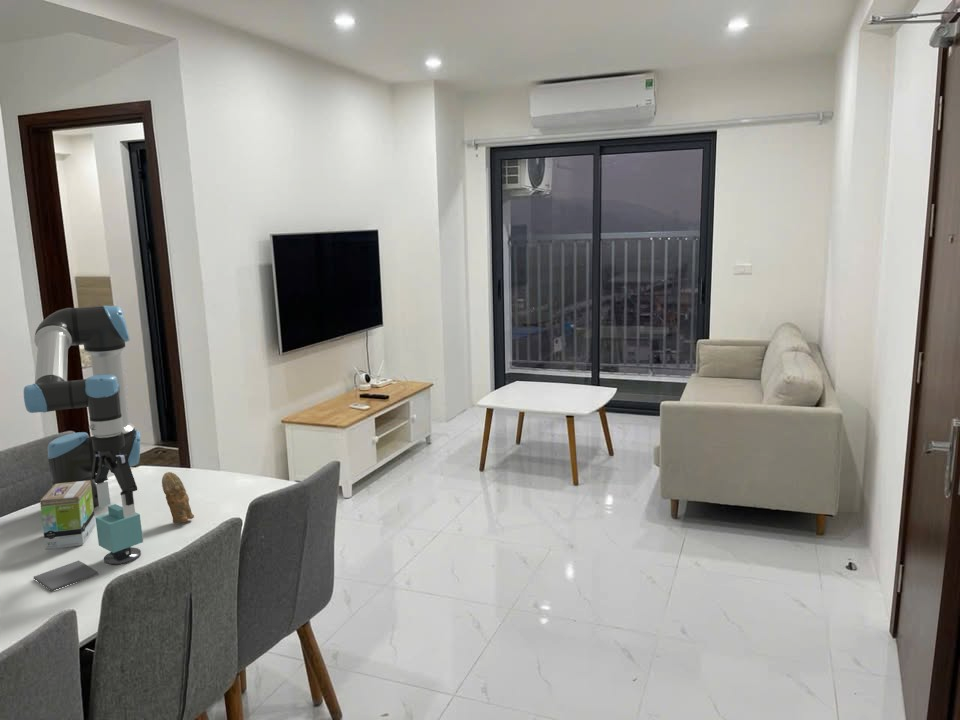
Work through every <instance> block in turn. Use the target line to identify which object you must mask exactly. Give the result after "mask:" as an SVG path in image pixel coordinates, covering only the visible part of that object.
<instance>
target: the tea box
mask: <svg viewBox="0 0 960 720" xmlns="http://www.w3.org/2000/svg"><path fill="white" fill-rule="evenodd" d="M39 501H40V502H39V503H40V511H41V512H40V513H41V521H42V522H41V523H42V531H43V532H42V533H43V538H44V540H43V541H44V548H45V550H53V549H63V548H70V547H71V548H72V547H77V546H83V545H84V543H85V542H86V540H87V538H88V537H89V536H90V534H91V533H92V532H93V531H92V530H93V529H94V528H95V526H96V519H95V517H96V516H95V509H94V508H95V507H94V506H93V497H92V488H91V481H90V480H89V481H78V482H68V483H58V484H54V486H53V487H51V488H50V489H49V490H48V491H47V493H45V494H44V496H43V497H41V499H40V500H39Z"/></svg>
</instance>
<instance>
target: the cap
mask: <svg viewBox="0 0 960 720" xmlns="http://www.w3.org/2000/svg"><path fill="white" fill-rule="evenodd" d="M107 510H108V513H105V514H102V515H99V516H95V526H96V527H95V528H96V533H97V541H98V546H99V547H101V548H103V549H105V550H107V551H108V552H109V553H110V552H112V553H115V552H117V551H120V550H123V549H126V548H128V547H131V548H132V547H134V546H136V545H139V544H141V543H144V538H143V532H142V531H143V529H142V522H141V515H140V513H137V512H136V511H135V515H133V516H130V517H127V518H124V515H123V507H122V505H119V504H116V503H114V504H110V505H107Z"/></svg>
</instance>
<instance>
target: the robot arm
mask: <svg viewBox="0 0 960 720" xmlns="http://www.w3.org/2000/svg"><path fill="white" fill-rule="evenodd" d="M126 323H127V322H126V319H125V314H124V312H123V309H122V308H121V307H120V306H118V305H98V306H97V305H96V306H95V305H93V306H83V307H65V308H62V309H58V310H55V312H53V313H51V314H49V315H48V316H47V317H45V318H44V319H43V320H42V321H41V323H39V324H38V327H37V328H36V330H35V334H34V344H35V346H36V347H37V352H36V353H37V354H36V365H35V376H34V377H35V378H34V383H32V384H27V385H25V386H24V388H23V400H24V406H25V409H26V411H27V412H28V413H29V414H35V413H43V414H44V413H49V412H56V411H57V412H58V411H64V410H73V409H82V408H87V409H88V415H89V425H88V428H89V429H90V432H91V435H92V436H89V434H88V432H85V431H81V432H80V431H79V432H73V433H69V434H65V435H61V436H59V437H56V438H55V439H53V440H51V441H50V442H49V443H48V445H47V459H48V464H49V470H50V481H51V486H52V487H53V486H54V484H58V483H68V482H78V481H89V480H90V481H91V488H92V497H93V506H94V508H96V507H99V508H102V507H103V508H104V507H106V506H107V507H108V506H111V498H110V490H109V479H108V475H109V472H110V473H111V474H113V475H114V477H115V480H116V481H117V484H118V485H119V488H120V489H121V492H120V497H121V507H123V515H124V518H127V517H130V516H133V515H135V512H136V509H135V499H134V492H136V491H138V487H137V483H136V481H135V477H134V474H133V471H132V469H131V467H133V466H136V465H138V464H139V462H140V456H141V431H140V430H137V429H136V427H135V425H134V424H133V423H131V422H130V419H129V410H128V404H127V403H128V402H127V394H126V388H125V387H126V385H125V377H124V367H123V362H122V361H123V360H122V352H123V350H124V349H125V348H126V343H127V342H129V341H130V335H129V331H128V327H127V324H126ZM82 345H83V349H84V352H86V353H87V354H89V355H90V360H91V368H92V376H90V377H87V378H85V379H76V380H68V360H69V359H68V355H69V349H70V347H71V346H82ZM52 487H51V488H52Z"/></svg>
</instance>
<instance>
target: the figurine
mask: <svg viewBox="0 0 960 720" xmlns="http://www.w3.org/2000/svg"><path fill="white" fill-rule="evenodd" d="M161 487H162V491H163V493H164V495H165V499H166V502H167V505H168V507H169V510H170V513H171V518H172V523H174V524H177V523H186V522H187V521H189V520H192V519H194V518H195V515H194V514H193V513H192V509H191V506H190V503H189V501H190V498H189V495H188V493H187V490H186V488H185V486H184V484H183V482H182V480H181V478H180V477H179V476H178V475H177V474H175V473H174V472H171V471H168V472H165V473H164V474H163V475H162V477H161Z"/></svg>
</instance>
